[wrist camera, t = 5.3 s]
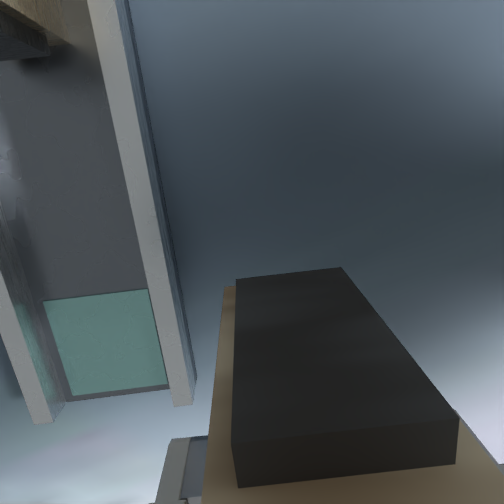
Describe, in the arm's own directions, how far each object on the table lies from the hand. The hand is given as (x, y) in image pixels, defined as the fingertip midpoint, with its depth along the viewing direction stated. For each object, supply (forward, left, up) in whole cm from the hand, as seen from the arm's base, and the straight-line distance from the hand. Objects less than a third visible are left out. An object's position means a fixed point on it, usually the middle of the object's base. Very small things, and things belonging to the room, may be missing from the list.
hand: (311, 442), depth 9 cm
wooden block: (0, 0, -4) cm, 4 cm away
